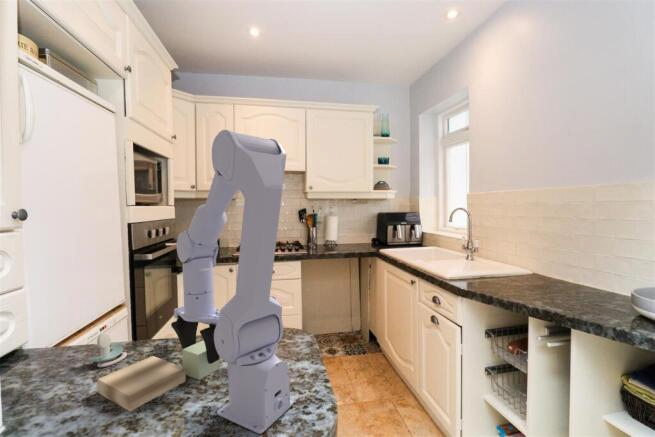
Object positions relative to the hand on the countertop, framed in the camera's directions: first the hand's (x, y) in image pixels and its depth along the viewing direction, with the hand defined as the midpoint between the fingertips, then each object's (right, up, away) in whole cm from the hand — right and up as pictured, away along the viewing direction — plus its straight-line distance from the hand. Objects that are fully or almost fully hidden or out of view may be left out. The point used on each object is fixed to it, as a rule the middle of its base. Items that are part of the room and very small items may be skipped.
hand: (201, 357), depth 62 cm
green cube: (0, -3, 0) cm, 3 cm away
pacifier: (-23, -4, +5) cm, 24 cm away
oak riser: (-9, -4, -5) cm, 11 cm away
